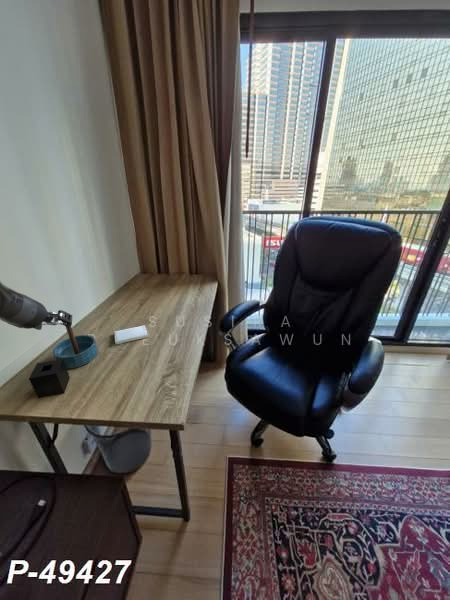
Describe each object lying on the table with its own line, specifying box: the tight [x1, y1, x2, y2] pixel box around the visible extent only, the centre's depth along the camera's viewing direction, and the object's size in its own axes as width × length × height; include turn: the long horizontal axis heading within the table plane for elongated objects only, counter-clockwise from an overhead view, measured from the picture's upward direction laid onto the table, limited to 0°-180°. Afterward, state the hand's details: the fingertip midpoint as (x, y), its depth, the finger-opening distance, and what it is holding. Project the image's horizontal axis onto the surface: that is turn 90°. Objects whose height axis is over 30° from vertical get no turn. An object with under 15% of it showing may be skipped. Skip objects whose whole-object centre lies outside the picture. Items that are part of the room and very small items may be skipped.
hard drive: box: [114, 325, 149, 345], centre depth 104 cm, size 2×8×12 cm
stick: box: [64, 326, 80, 355], centre depth 87 cm, size 2×2×18 cm
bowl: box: [52, 334, 99, 369], centre depth 90 cm, size 13×13×6 cm
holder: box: [28, 359, 71, 399], centre depth 77 cm, size 7×7×8 cm
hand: (55, 325), depth 78 cm, fingers open, 8 cm apart
